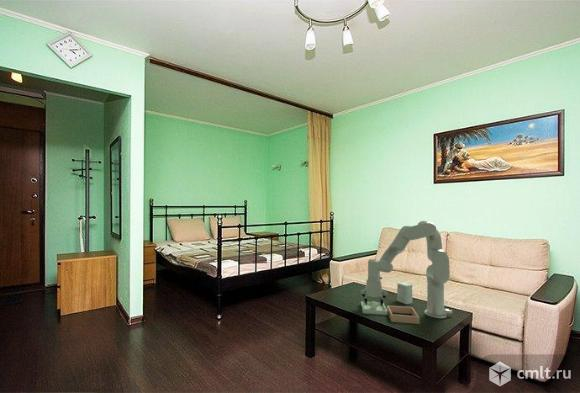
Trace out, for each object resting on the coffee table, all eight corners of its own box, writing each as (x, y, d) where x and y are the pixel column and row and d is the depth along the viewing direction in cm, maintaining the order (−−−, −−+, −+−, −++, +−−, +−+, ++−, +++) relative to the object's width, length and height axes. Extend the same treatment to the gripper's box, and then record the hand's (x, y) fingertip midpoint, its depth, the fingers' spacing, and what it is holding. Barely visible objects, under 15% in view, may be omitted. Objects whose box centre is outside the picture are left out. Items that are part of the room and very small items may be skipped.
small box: (412, 303, 196) (412, 284, 197) (406, 304, 193) (406, 285, 194) (402, 299, 203) (402, 281, 204) (397, 301, 200) (397, 282, 201)
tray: (383, 306, 189) (383, 302, 189) (387, 315, 174) (387, 311, 174) (361, 304, 191) (361, 301, 191) (362, 313, 176) (363, 309, 177)
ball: (377, 307, 185) (377, 300, 185) (378, 310, 180) (378, 302, 180) (369, 307, 185) (369, 299, 186) (370, 310, 181) (370, 302, 181)
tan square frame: (412, 313, 177) (412, 307, 178) (419, 323, 162) (419, 317, 162) (386, 311, 180) (386, 305, 180) (391, 321, 165) (391, 314, 165)
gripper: (386, 277, 185) (386, 303, 185) (359, 276, 188) (359, 301, 188) (388, 280, 178) (388, 307, 178) (360, 279, 181) (360, 305, 180)
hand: (373, 304), depth 183 cm, fingers open, 9 cm apart
